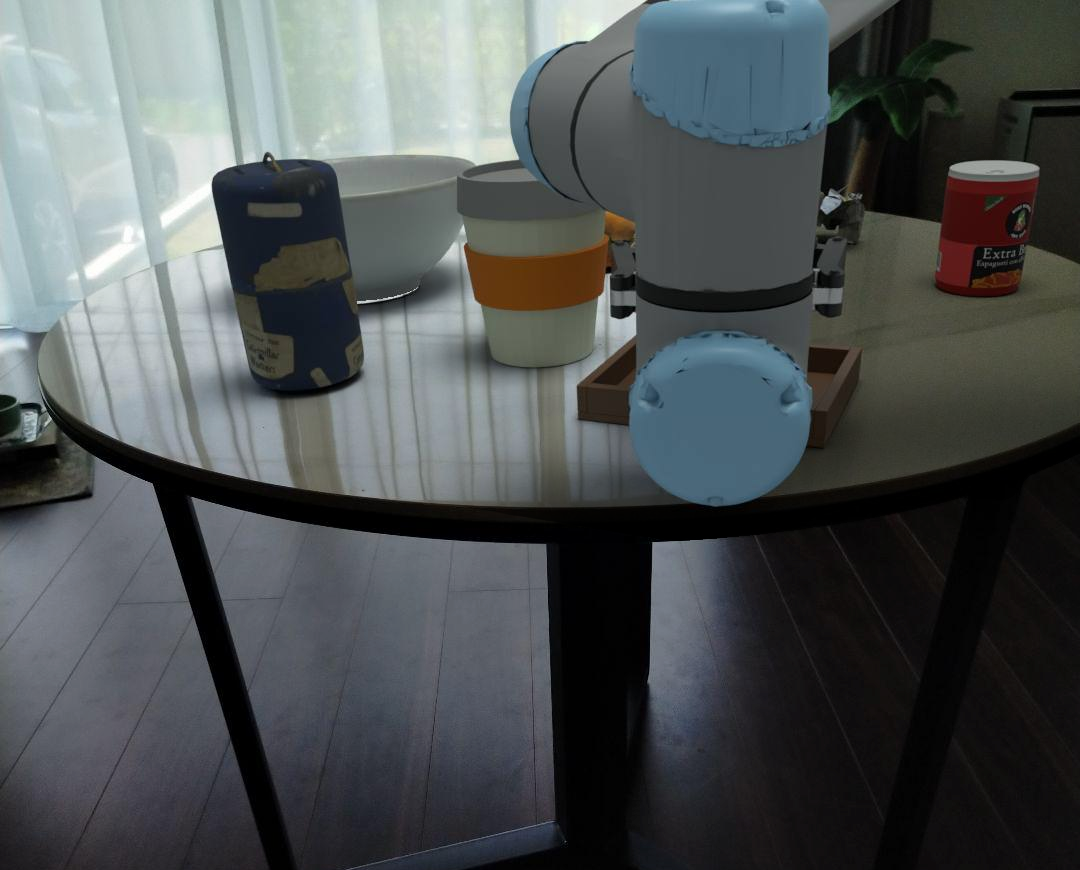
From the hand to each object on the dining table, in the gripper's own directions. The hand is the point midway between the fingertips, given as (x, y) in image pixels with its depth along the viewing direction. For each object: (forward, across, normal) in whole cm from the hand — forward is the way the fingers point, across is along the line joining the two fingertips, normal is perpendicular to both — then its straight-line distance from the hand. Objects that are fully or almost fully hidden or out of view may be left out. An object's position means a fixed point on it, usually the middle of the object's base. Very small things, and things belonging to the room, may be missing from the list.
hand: (727, 235), depth 73 cm
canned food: (+26, +24, -11) cm, 37 cm away
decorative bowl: (+27, -39, -11) cm, 49 cm away
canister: (-1, -34, -11) cm, 36 cm away
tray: (-5, 0, -11) cm, 12 cm away
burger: (+39, -13, -11) cm, 43 cm away
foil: (+43, +9, -11) cm, 45 cm away
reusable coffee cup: (+7, -16, -11) cm, 20 cm away
